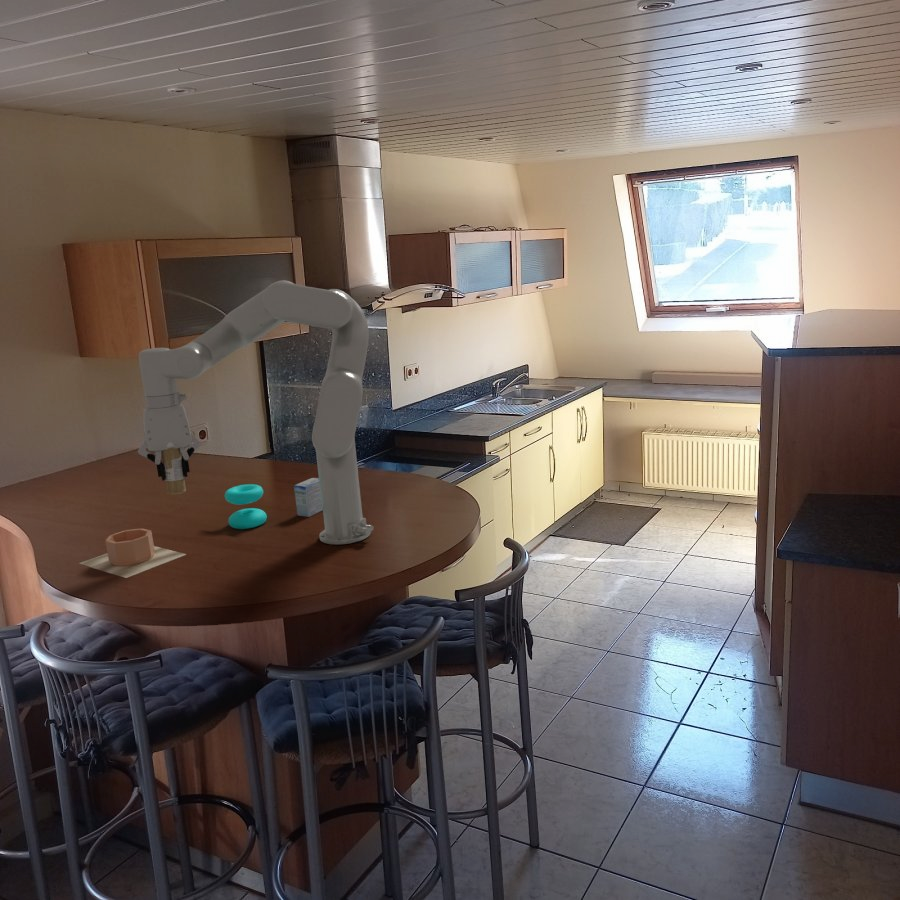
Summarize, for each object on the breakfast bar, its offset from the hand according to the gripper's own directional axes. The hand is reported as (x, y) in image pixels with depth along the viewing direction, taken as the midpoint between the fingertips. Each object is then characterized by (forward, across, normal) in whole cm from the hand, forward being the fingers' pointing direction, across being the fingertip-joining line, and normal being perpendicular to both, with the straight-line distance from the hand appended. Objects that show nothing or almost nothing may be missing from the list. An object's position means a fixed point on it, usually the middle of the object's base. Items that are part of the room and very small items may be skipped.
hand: (174, 476), depth 197 cm
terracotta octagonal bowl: (+18, +12, 0) cm, 22 cm away
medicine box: (+20, -35, -15) cm, 43 cm away
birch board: (+20, +12, 0) cm, 23 cm away
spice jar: (+4, 0, 0) cm, 4 cm away
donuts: (+20, -17, -15) cm, 30 cm away
